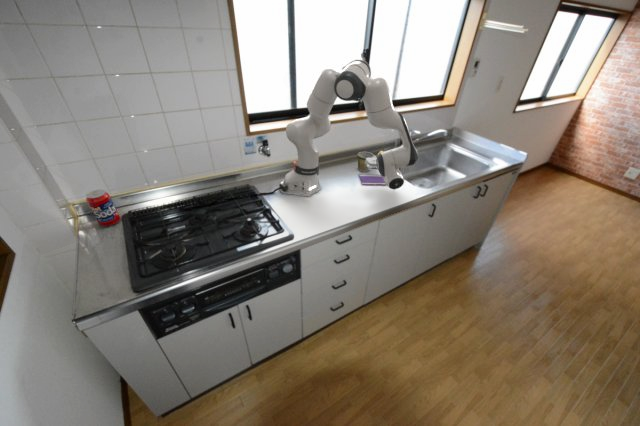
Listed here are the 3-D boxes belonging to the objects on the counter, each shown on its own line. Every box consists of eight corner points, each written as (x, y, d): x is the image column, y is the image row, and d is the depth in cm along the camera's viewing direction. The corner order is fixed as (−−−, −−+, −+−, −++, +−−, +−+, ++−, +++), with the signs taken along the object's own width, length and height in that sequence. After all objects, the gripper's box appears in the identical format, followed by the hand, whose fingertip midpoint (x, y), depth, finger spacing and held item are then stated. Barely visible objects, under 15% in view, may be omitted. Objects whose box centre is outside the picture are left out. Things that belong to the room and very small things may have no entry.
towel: (362, 184, 158) (362, 184, 157) (358, 175, 167) (358, 174, 167) (387, 185, 159) (387, 184, 159) (382, 175, 168) (382, 174, 168)
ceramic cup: (367, 174, 168) (369, 159, 162) (352, 169, 172) (354, 155, 166) (375, 167, 177) (378, 152, 171) (361, 162, 181) (364, 148, 175)
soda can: (115, 214, 125) (101, 186, 116) (124, 221, 121) (110, 192, 112) (96, 223, 119) (80, 194, 110) (105, 230, 116) (89, 200, 107)
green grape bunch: (375, 169, 150) (379, 150, 143) (373, 164, 155) (376, 145, 148) (386, 169, 150) (390, 150, 144) (384, 164, 155) (387, 146, 149)
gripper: (367, 173, 140) (362, 161, 151) (405, 174, 141) (398, 162, 152) (368, 162, 136) (363, 151, 147) (408, 163, 138) (400, 152, 149)
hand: (381, 156), depth 150 cm, fingers closed on green grape bunch, 6 cm apart
